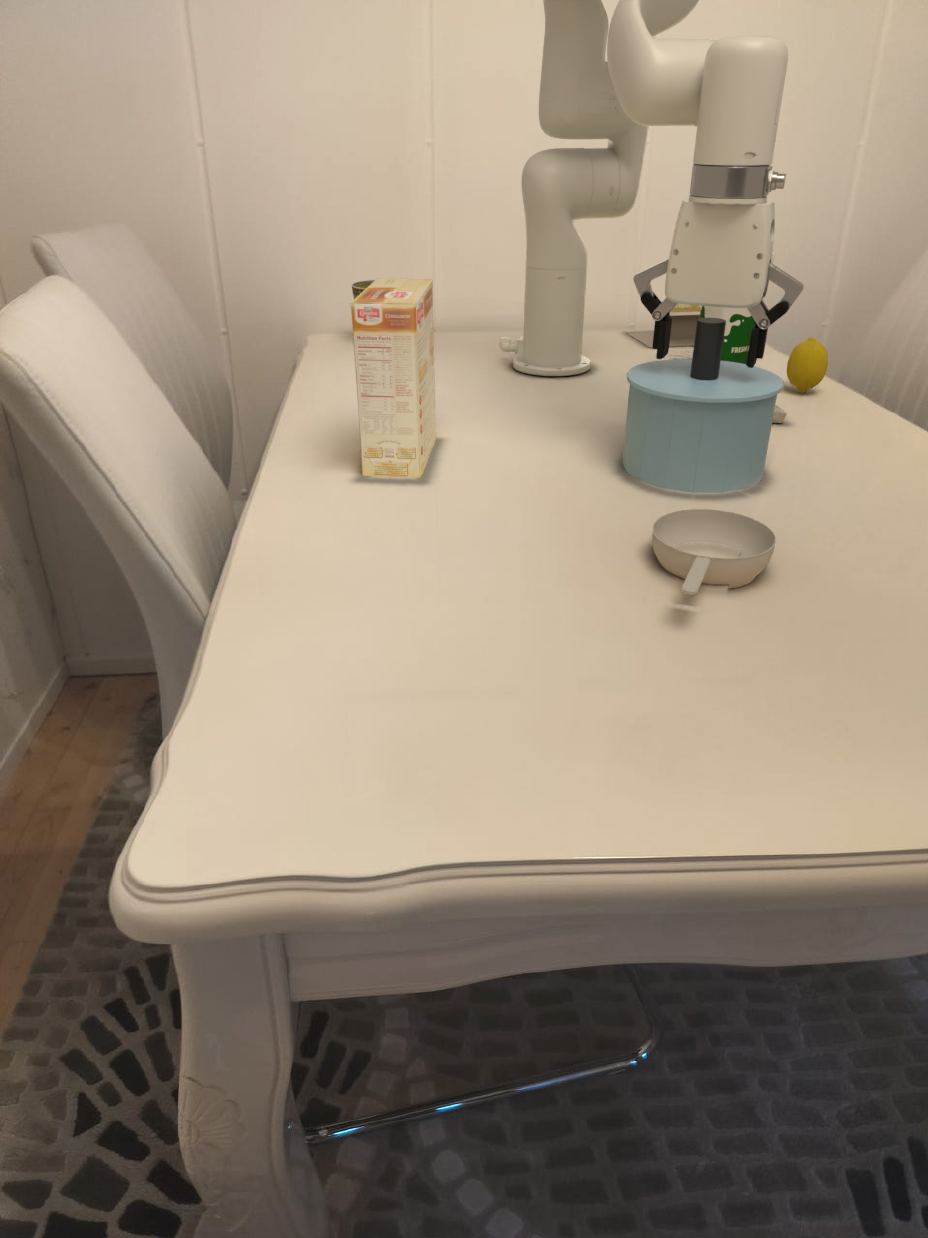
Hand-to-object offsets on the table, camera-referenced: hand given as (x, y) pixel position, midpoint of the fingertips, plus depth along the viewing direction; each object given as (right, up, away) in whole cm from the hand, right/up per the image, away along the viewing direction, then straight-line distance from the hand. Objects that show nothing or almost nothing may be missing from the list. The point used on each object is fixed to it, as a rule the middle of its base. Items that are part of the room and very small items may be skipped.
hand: (705, 360), depth 96 cm
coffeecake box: (-34, -9, +10) cm, 37 cm away
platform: (+14, +24, +67) cm, 73 cm away
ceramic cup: (-41, +21, +64) cm, 79 cm away
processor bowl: (0, -11, +6) cm, 13 cm away
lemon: (+24, +5, +35) cm, 43 cm away
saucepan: (-5, -25, -18) cm, 31 cm away
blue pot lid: (0, -2, +1) cm, 2 cm away
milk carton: (+15, +11, +46) cm, 50 cm away
